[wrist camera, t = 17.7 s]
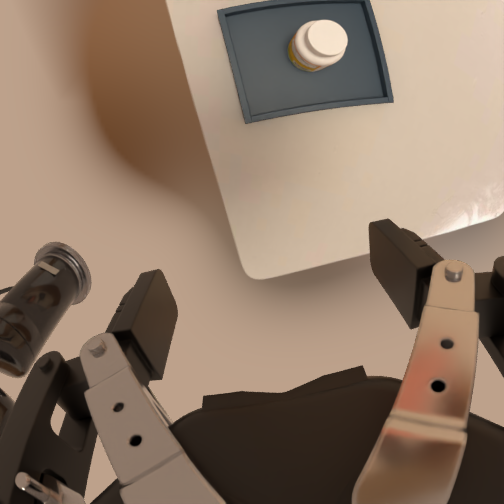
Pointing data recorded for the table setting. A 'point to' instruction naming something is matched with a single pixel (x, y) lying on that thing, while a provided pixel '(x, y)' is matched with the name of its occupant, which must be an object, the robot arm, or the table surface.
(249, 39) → the tray
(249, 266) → the table surface
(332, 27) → the supplement bottle
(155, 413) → the robot arm
